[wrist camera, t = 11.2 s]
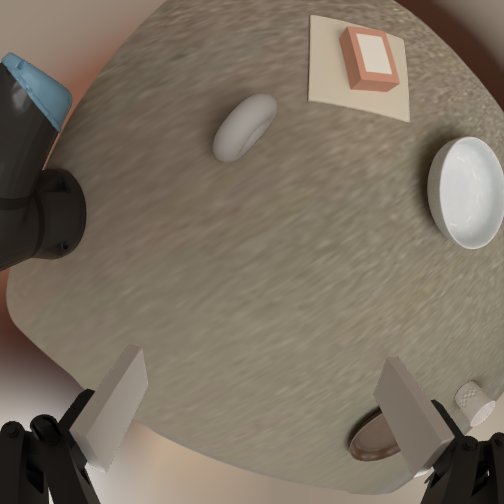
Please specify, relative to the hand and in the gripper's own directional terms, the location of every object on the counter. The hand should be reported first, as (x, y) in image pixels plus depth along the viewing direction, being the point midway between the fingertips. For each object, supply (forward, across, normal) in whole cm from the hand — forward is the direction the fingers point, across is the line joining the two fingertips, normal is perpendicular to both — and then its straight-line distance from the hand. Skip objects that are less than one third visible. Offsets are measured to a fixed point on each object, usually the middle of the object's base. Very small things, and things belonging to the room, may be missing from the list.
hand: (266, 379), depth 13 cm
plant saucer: (+27, +32, -38) cm, 57 cm away
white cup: (+27, +54, -31) cm, 67 cm away
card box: (+26, +14, +30) cm, 42 cm away
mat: (+27, +13, +30) cm, 42 cm away
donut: (+27, -3, +16) cm, 32 cm away
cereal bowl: (+27, +31, +13) cm, 43 cm away
